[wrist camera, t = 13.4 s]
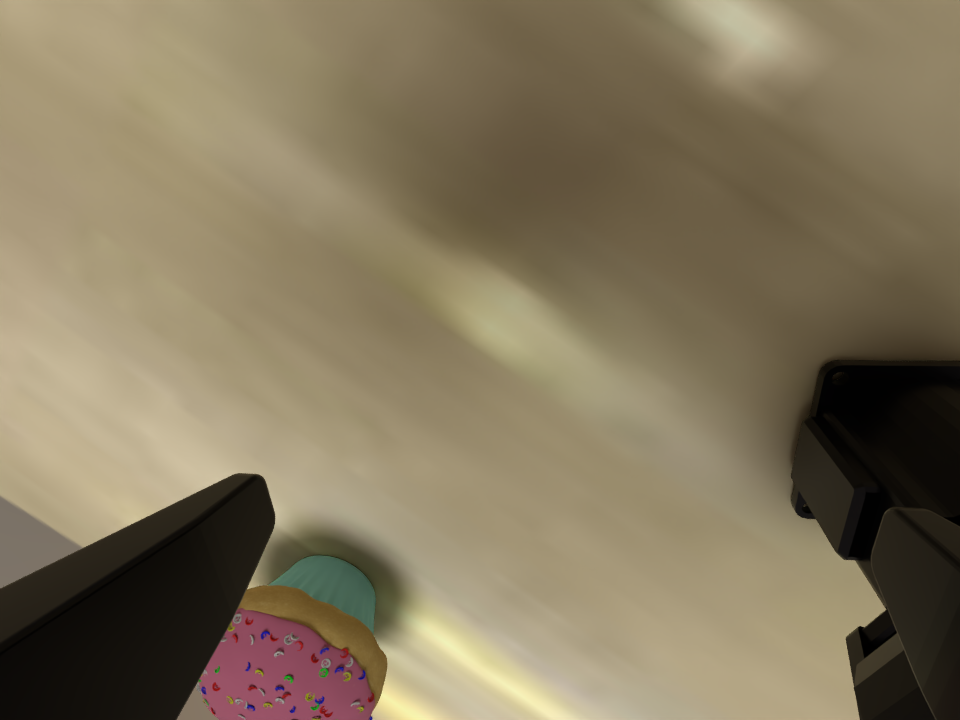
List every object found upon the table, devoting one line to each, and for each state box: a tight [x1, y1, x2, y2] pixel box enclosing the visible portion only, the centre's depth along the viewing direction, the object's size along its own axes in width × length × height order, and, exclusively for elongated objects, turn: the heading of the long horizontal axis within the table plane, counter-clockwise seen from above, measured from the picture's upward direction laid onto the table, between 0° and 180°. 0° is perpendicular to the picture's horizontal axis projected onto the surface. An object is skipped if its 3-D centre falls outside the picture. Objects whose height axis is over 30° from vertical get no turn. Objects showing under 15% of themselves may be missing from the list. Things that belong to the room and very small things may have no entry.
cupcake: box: [197, 555, 387, 720], centre depth 22 cm, size 9×8×12 cm
